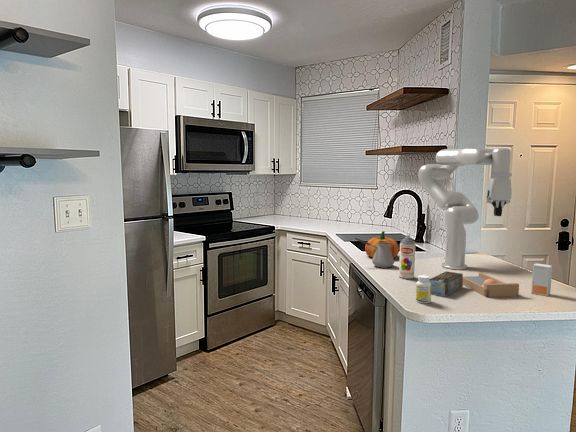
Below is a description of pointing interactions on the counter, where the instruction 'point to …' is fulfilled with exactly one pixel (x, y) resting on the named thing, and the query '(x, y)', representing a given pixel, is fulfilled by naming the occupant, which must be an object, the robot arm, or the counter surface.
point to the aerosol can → (407, 258)
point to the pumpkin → (371, 250)
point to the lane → (491, 286)
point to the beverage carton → (446, 283)
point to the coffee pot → (381, 254)
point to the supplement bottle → (423, 289)
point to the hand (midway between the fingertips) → (497, 215)
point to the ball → (489, 282)
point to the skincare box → (541, 279)
